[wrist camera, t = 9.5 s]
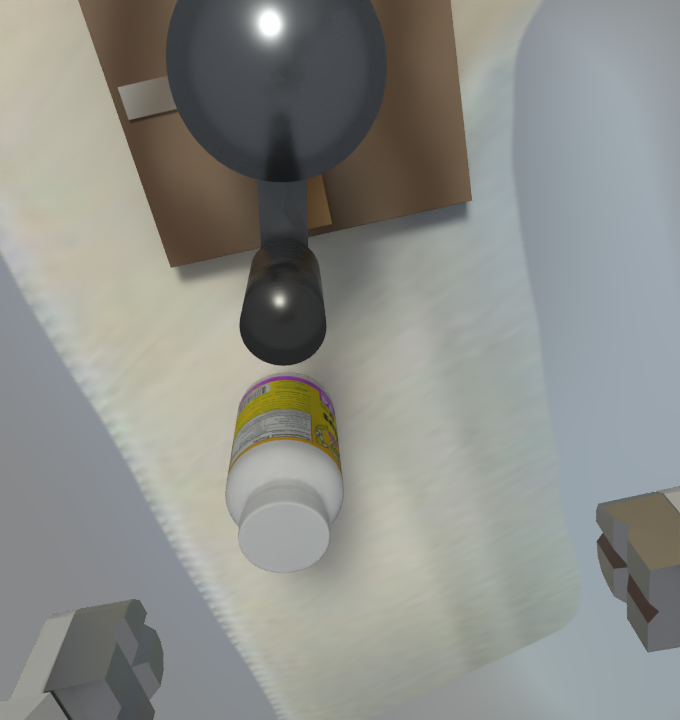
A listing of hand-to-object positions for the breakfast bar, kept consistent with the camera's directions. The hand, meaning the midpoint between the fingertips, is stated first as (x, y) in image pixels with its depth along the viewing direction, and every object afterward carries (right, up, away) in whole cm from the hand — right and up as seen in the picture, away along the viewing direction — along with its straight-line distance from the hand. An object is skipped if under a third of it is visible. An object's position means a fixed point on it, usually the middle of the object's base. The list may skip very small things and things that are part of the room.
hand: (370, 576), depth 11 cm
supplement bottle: (-4, 0, +32) cm, 32 cm away
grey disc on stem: (-3, +13, +15) cm, 21 cm away
